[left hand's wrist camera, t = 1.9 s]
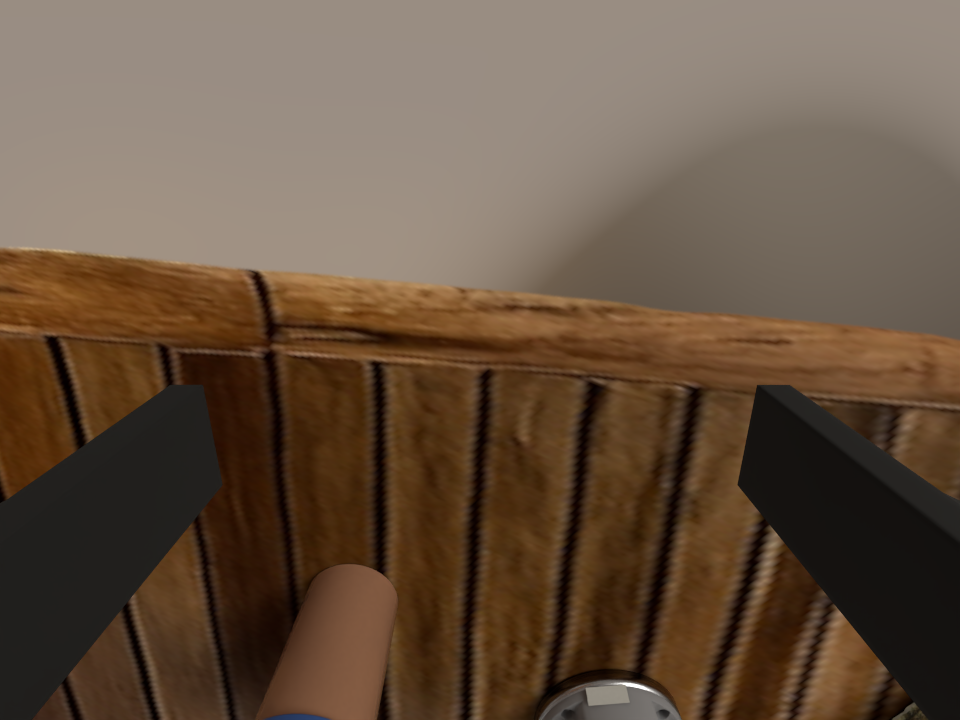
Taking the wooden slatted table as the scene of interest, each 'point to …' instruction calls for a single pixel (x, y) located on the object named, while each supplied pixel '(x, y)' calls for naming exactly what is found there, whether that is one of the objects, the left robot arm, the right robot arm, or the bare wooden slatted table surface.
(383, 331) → the wooden slatted table surface
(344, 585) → the jar
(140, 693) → the wooden slatted table surface
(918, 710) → the fossil
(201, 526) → the wooden slatted table surface
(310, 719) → the lid
